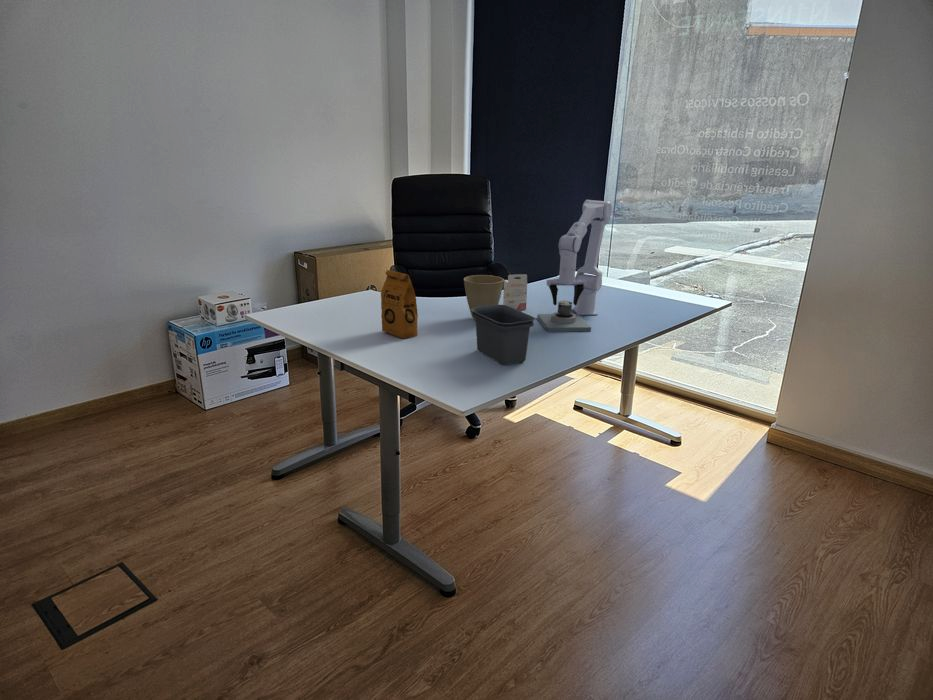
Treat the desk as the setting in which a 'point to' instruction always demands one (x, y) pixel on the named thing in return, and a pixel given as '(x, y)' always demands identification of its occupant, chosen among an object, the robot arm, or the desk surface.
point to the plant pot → (483, 290)
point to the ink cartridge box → (515, 292)
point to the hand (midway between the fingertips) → (564, 304)
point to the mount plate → (563, 322)
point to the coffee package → (399, 306)
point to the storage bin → (502, 332)
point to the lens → (564, 309)
